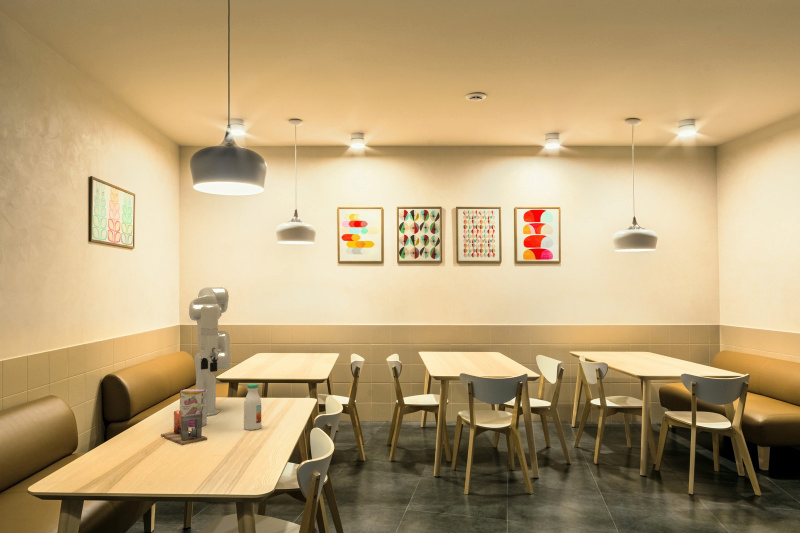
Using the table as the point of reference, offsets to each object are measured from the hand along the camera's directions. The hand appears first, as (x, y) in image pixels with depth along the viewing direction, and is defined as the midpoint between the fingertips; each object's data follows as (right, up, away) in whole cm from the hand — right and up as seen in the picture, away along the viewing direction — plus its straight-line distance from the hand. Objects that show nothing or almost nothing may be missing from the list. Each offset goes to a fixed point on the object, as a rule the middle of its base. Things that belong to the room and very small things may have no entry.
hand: (208, 370), depth 251 cm
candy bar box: (-10, -27, +8) cm, 30 cm away
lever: (-5, -25, -15) cm, 29 cm away
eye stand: (-6, -26, -14) cm, 30 cm away
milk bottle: (+19, -27, +2) cm, 33 cm away
